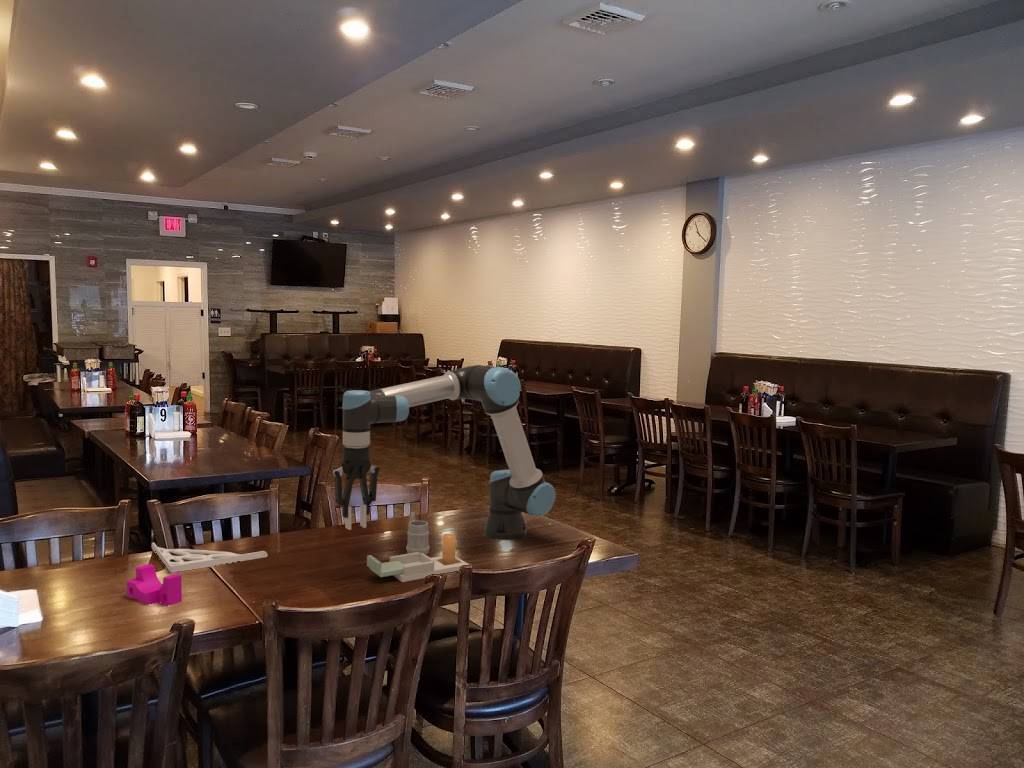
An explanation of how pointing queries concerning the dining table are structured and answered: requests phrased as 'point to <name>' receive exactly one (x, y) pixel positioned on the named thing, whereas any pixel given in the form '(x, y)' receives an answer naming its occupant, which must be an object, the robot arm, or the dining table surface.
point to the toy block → (154, 587)
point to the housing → (423, 566)
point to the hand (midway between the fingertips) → (355, 527)
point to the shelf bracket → (200, 558)
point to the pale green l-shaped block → (384, 567)
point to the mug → (417, 536)
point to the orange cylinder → (448, 549)
